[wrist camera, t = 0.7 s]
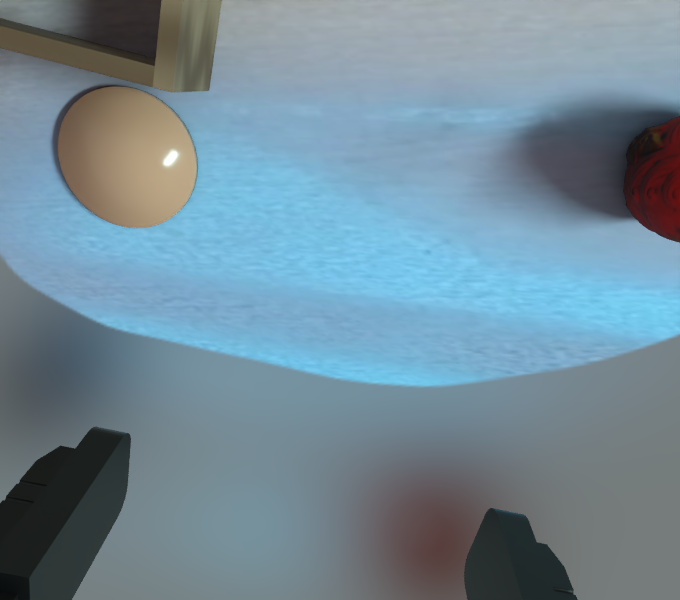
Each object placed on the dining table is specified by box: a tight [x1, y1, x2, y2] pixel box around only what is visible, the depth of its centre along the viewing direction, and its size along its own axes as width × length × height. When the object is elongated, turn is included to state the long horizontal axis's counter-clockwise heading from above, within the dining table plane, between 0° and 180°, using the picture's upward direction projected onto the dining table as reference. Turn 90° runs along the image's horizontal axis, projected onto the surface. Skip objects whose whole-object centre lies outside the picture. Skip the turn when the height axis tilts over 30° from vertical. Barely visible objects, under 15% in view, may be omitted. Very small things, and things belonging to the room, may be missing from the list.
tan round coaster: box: [58, 87, 198, 228], centre depth 35 cm, size 9×9×1 cm
